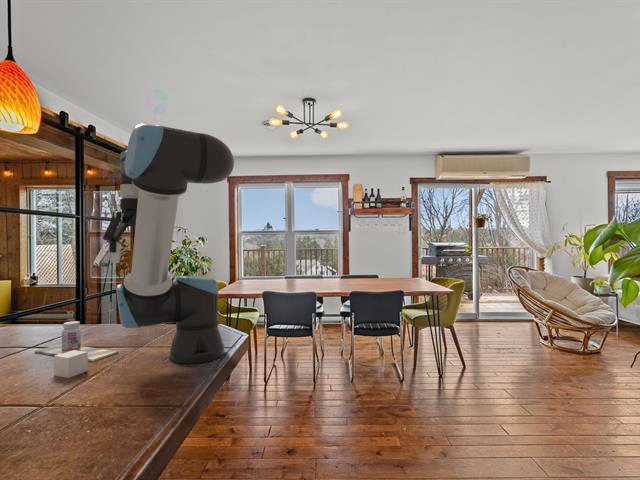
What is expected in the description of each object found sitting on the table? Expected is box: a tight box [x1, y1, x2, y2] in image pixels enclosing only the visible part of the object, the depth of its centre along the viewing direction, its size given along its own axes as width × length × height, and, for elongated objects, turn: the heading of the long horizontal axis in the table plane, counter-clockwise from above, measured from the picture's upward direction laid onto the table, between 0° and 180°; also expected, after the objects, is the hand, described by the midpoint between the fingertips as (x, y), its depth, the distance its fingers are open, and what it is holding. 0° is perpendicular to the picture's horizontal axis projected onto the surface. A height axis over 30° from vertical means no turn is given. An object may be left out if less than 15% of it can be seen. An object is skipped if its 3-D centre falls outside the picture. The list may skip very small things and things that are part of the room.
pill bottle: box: [61, 320, 82, 352], centre depth 107 cm, size 5×5×8 cm
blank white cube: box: [53, 350, 89, 379], centre depth 90 cm, size 5×5×5 cm
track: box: [34, 343, 119, 362], centre depth 107 cm, size 24×8×1 cm, turn 71°
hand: (132, 261), depth 119 cm, fingers open, 13 cm apart
